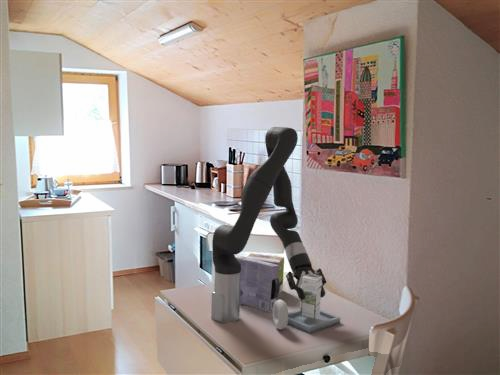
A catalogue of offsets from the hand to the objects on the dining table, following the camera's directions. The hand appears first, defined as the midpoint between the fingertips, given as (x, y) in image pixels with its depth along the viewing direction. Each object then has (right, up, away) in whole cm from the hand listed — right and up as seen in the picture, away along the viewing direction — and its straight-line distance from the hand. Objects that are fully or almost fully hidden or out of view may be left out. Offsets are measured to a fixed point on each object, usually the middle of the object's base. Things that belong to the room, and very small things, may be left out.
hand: (313, 297), depth 180 cm
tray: (-1, -9, +2) cm, 9 cm away
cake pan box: (-20, -7, +17) cm, 27 cm away
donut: (-12, -10, -5) cm, 16 cm away
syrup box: (-1, -7, +2) cm, 7 cm away
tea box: (-17, -5, +34) cm, 39 cm away
